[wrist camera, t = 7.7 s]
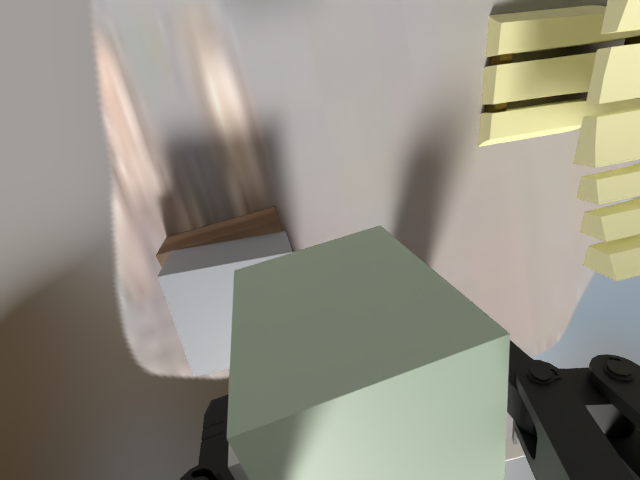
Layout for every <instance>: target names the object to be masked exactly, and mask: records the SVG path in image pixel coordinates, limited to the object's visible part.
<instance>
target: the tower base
mask: <svg viewBox="0 0 640 480" xmlns="http://www.w3.org/2000/svg"><path fill="white" fill-rule="evenodd" d="M278 232H283V231H282V228H281V224H280V221H279V217H278V214H277V211H276V208H275V207H272V208H268V209H265V210H261V211H258V212H254V213H250V214H247V215H243V216H240V217H236V218H233V219H229V220H226V221H222V222H218V223H215V224H211V225H208V226H204V227H201V228H197V229H193V230H190V231H186V232H183V233H179V234H176V235H172V236H168V237H166V239H165V241H164V242H163V244H162V246H161V248H160V249H159V251H158V253H157V254H156V257H157V259H158V261H159V263H160V265H161V267H163V265H164V263H165V261H166V259H167V257H168V255H169V253H170V251H173V250H179V249H185V248H191V247H197V246H202V245H208V244H214V243H220V242H226V241H231V240H237V239H243V238H249V237H255V236H260V235H266V234H272V233H278Z"/></svg>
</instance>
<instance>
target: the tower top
mask: <svg viewBox="0 0 640 480" xmlns="http://www.w3.org/2000/svg"><path fill="white" fill-rule="evenodd" d="M289 253H293V252H292V248H291V245H290V242H289V239H288V236H287V233H286V231H284V232H278V233H272V234H266V235H260V236H255V237H249V238H243V239H237V240H231V241H226V242H220V243H214V244H208V245H202V246H197V247H191V248H185V249H179V250H173V251H170V253H169V255H168V257H167V259H166V261H165V263H164V265H163V267H162V269H161V271H160V273H159V275H158V279H159V282H160V285H161V288H162V291H163V293H164V296H165V299H166V302H167V305H168V307H169V310H170V313H171V316H172V319H173V321H174V324H175V327H176V330H177V333H178V335H179V338H180V341H181V344H182V347H183V349H184V352H185V355H186V358H187V361H188V363H189V366H190V369H191V372H192V375H193V377H195V376H199V375H203V374H207V373H212V372H216V371H220V370H225V369H229V368H230V352H231V330H232V308H233V285H234V270H237V269H241V268H244V267H247V266H250V265H254V264H257V263H260V262H263V261H267V260H270V259H273V258H276V257H280V256H283V255H286V254H289Z"/></svg>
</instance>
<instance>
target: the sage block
mask: <svg viewBox="0 0 640 480" xmlns="http://www.w3.org/2000/svg"><path fill="white" fill-rule="evenodd" d="M509 348H510V333H508V332H507V331H506V330H505V329H504V328H502V327H501V326H500V325H499V324H498V323H496V322H495V321H494V320H493V319H492V318H490V317H489V316H488V315H487V314H486V313H485V312H483V311H482V310H481V309H480V308H479V307H477V306H476V305H475V304H474V303H473V302H471V301H470V300H469V299H468V298H467V297H465V296H464V295H463V294H462V293H461V292H459V291H458V290H457V289H456V288H455V287H453V286H452V285H451V284H450V283H449V282H447V281H446V280H445V279H444V278H443V277H441V276H440V275H439V274H438V273H437V272H435V271H434V270H433V269H432V268H431V267H429V266H428V265H427V264H426V263H425V262H423V261H422V260H421V259H420V258H419V257H417V256H416V255H415V254H414V253H413V252H411V251H410V250H409V249H408V248H407V247H405V246H404V245H403V244H402V243H401V242H399V241H398V240H397V239H396V238H395V237H393V236H392V235H391V234H390V233H389V232H387V231H386V230H385V229H384V228H383V227H381V226H377V227H374V228H370V229H367V230H364V231H361V232H357V233H354V234H351V235H348V236H344V237H341V238H338V239H335V240H331V241H328V242H325V243H322V244H318V245H315V246H312V247H309V248H305V249H302V250H299V251H296V252H293V253H289V254H286V255H283V256H280V257H276V258H273V259H270V260H267V261H263V262H260V263H257V264H254V265H250V266H247V267H244V268H241V269H237V270H234V285H233V308H232V330H231V352H230V374H229V396H228V419H227V440H228V442H229V444H230V446H231V448H232V449H233V451H234V453H235V455H236V457H237V459H238V460H239V462H240V464H241V466H242V468H243V469H244V471H245V473H246V475H247V477H248V478H249V480H504V472H505V449H506V424H507V399H508V374H509Z"/></svg>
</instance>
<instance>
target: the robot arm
mask: <svg viewBox="0 0 640 480" xmlns="http://www.w3.org/2000/svg"><path fill="white" fill-rule="evenodd" d="M228 396H229V394H228V395H226V396H223V397H220V398H217V399H214V400H212V401H211V403H210V404H209V406H208V408H207V410H206V412H205V415H204V423H203V432H202V442H201V448H200V456H199V465H198V466H196V467H194V468H192V469H190V470H189V471H188V472H187V473H186V474H185V475H184V476H183V477H182V478H181V479H180V480H249V478H248V477H247V475H246V473H245V471H244V469H243V468H242V466H241V464H240V462H239V460H238V459H237V457H236V455H235V453H234V451H233V449H232V448H231V446H230V444H229V442H228V440H227V419H228ZM507 412H508V414H509V415H510V416H511V417H512V418H513V431H512V439H513V444H517V440H519V442H520V444H521V447H522V449H523V451H524V454H525V456H526V458H527V461H528V463H529V465H530V468H531V470H532V472H533V475H534V477H535V479H536V480H640V366H639V365H637V364H635V363H634V362H632V361H630V360H628V359H625V358H622V357H619V356H615V355H598V356H596V357H594V358H592V360H591V362H590V364H589V368H574V369H558V368H557V367H555V366H553V365H552V364H550V363H547V362H543V361H541V360H533V359H532V358H530V357H529V356H528V355H527V354H526V353H524V352H523V351H522V350H521V349H520V348H519V347H517V346H516V345H515V344H514V343H513V342H512V341H510V348H509V374H508V399H507Z"/></svg>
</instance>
